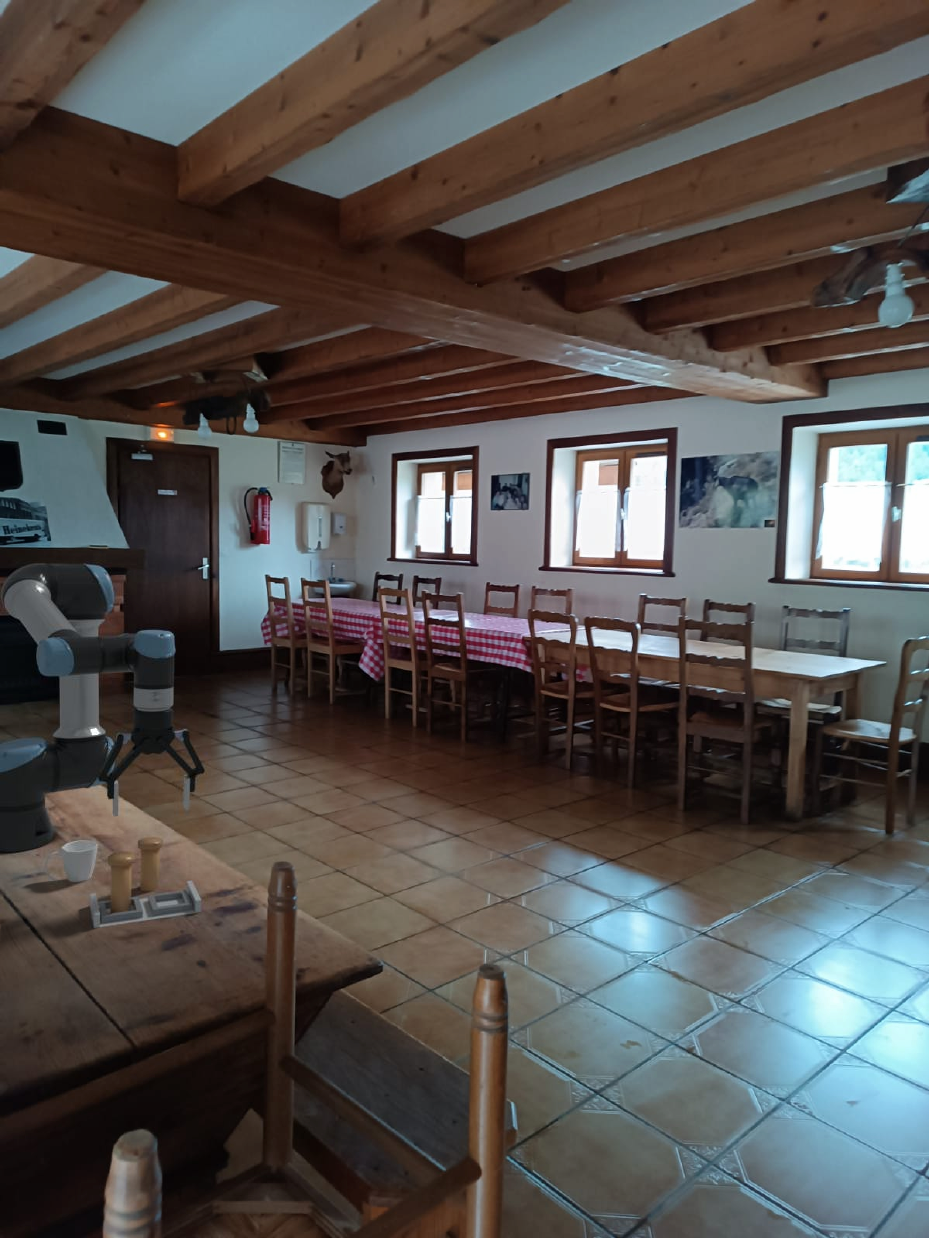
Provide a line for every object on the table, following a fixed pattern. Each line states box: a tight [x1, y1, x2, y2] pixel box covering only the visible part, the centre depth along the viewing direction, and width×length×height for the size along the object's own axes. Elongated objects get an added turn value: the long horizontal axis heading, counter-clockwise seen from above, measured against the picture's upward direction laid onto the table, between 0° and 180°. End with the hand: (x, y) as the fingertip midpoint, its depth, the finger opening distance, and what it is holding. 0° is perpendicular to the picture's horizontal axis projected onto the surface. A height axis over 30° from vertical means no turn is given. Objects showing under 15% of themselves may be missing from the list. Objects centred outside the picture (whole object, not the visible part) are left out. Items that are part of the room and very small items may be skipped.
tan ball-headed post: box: [137, 836, 164, 892], centre depth 174 cm, size 5×5×11 cm
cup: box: [44, 839, 99, 883], centre depth 176 cm, size 7×10×8 cm
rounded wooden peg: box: [107, 851, 136, 914], centre depth 162 cm, size 5×5×11 cm
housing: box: [89, 880, 202, 929], centre depth 164 cm, size 10×19×4 cm, turn 118°
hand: (151, 811), depth 172 cm, fingers open, 13 cm apart
